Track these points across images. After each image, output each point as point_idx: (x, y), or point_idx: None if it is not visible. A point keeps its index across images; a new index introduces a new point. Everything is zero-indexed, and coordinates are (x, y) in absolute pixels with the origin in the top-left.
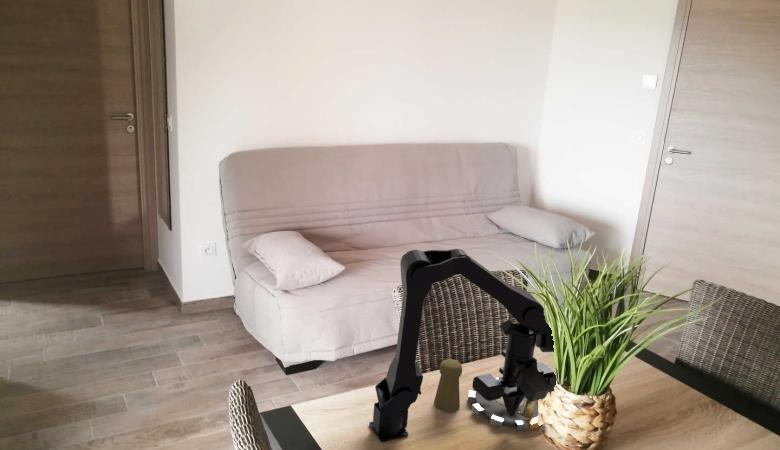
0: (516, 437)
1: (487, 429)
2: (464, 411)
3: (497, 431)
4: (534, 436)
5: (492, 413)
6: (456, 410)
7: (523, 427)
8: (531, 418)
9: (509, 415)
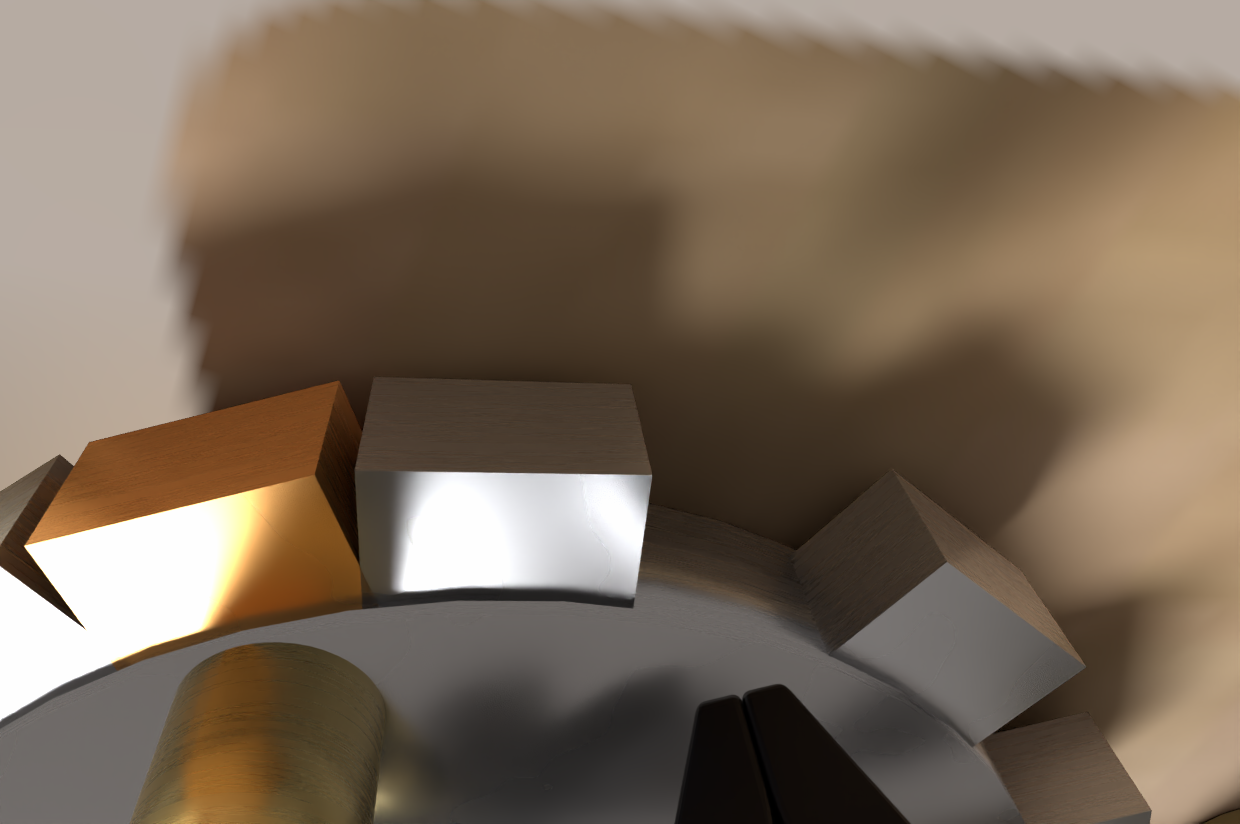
0: (688, 228)
1: (1089, 475)
2: None
3: (956, 419)
4: (262, 222)
5: (979, 762)
6: (1223, 817)
7: (490, 421)
8: (217, 640)
9: None
